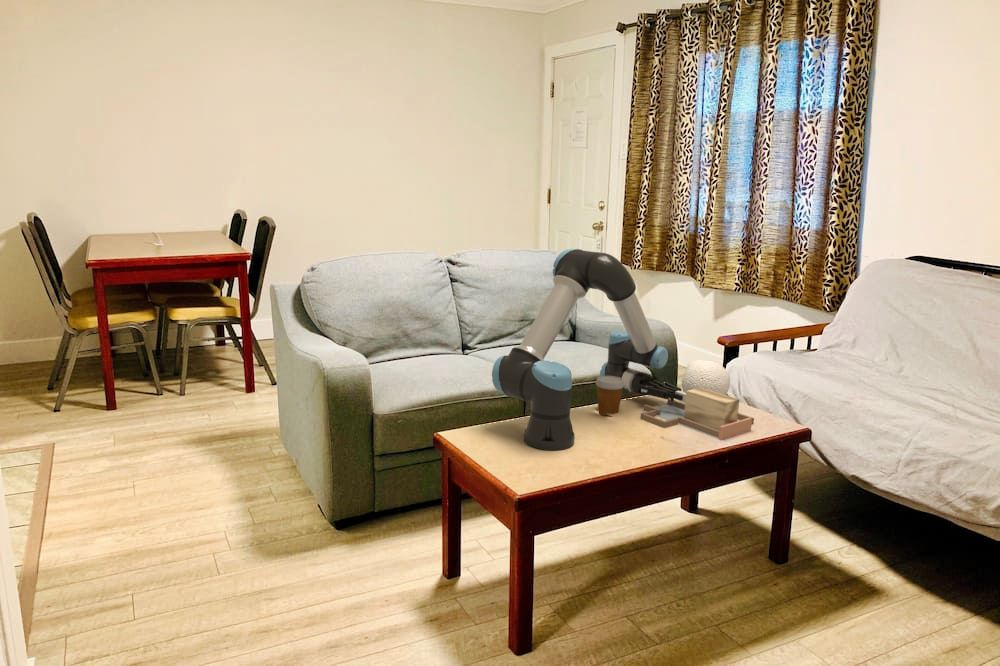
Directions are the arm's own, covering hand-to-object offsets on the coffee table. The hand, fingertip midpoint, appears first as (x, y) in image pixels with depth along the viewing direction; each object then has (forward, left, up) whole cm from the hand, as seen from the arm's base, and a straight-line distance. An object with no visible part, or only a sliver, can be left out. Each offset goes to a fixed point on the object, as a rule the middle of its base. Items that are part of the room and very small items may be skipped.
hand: (692, 400), depth 248 cm
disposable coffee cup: (-18, +20, -8) cm, 28 cm away
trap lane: (-1, -2, -7) cm, 8 cm away
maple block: (0, -8, -6) cm, 10 cm away
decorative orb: (+18, +10, -8) cm, 22 cm away
